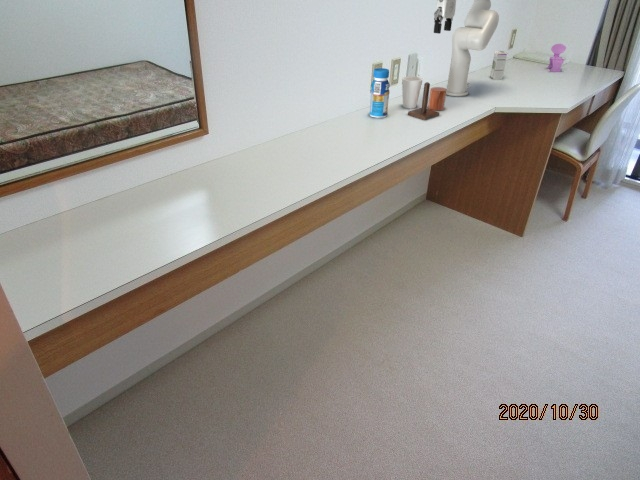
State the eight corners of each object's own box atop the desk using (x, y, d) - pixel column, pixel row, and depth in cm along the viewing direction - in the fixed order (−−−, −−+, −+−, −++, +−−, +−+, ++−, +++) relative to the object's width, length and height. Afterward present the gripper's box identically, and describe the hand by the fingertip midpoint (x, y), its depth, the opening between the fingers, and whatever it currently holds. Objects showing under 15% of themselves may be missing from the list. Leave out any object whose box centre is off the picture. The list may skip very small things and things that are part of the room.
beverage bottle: (365, 113, 207) (368, 68, 196) (381, 111, 210) (385, 66, 199) (374, 119, 201) (377, 72, 190) (391, 116, 203) (395, 70, 193)
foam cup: (419, 110, 212) (422, 81, 205) (399, 108, 214) (401, 80, 207) (419, 104, 220) (422, 76, 213) (400, 103, 221) (402, 75, 214)
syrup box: (502, 79, 262) (508, 52, 254) (492, 79, 262) (497, 52, 254) (499, 76, 267) (504, 50, 259) (489, 76, 267) (494, 50, 259)
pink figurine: (548, 71, 277) (555, 45, 269) (544, 68, 285) (551, 43, 277) (562, 72, 276) (569, 46, 268) (558, 69, 284) (565, 43, 275)
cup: (434, 105, 218) (437, 86, 214) (446, 108, 214) (449, 89, 209) (425, 108, 215) (427, 88, 210) (437, 111, 210) (440, 92, 205)
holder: (421, 110, 211) (425, 78, 203) (439, 115, 205) (443, 82, 197) (407, 114, 206) (411, 82, 198) (424, 120, 200) (429, 86, 192)
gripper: (446, -10, 186) (440, 35, 196) (464, -13, 198) (458, 30, 207) (430, -11, 191) (425, 33, 200) (449, -13, 202) (443, 28, 211)
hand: (442, 31), depth 203 cm, fingers open, 9 cm apart
